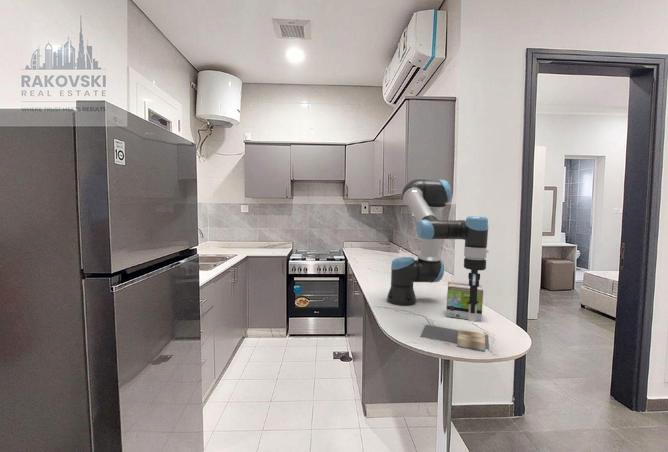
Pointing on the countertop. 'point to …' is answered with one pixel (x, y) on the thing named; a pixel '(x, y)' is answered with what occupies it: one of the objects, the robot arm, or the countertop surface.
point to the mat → (445, 334)
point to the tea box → (462, 300)
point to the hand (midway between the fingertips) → (472, 320)
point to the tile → (471, 340)
